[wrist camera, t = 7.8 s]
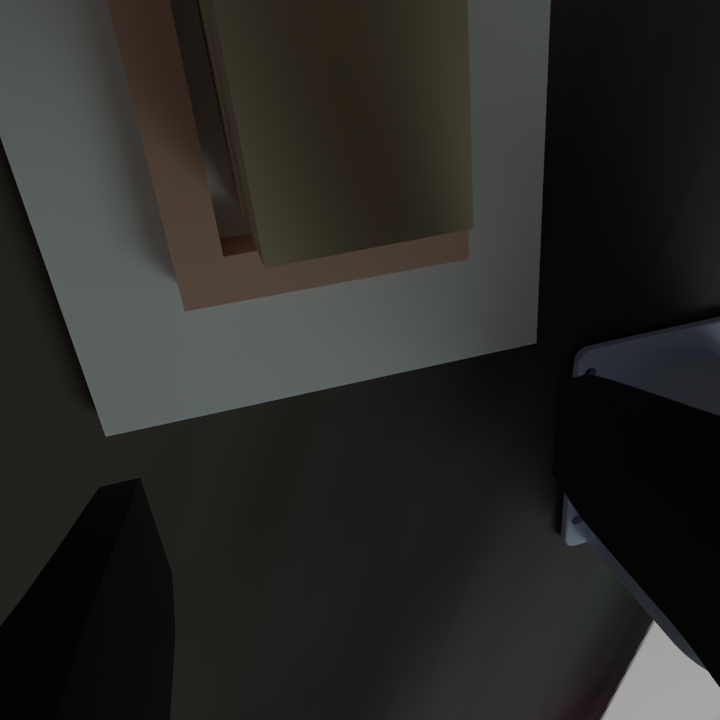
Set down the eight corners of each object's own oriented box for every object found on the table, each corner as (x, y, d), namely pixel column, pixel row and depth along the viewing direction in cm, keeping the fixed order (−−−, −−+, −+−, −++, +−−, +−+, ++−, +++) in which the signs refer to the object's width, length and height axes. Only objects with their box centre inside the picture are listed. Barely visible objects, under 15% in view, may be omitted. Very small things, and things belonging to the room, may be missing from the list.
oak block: (357, -89, 14) (463, -182, 9) (382, 177, 17) (473, 228, 11) (180, -74, 13) (180, -165, 8) (237, 202, 16) (264, 268, 11)
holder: (521, 331, 21) (565, 366, 19) (109, 419, 19) (98, 472, 16) (543, -424, 13) (627, -538, 11) (-192, -456, 10) (-305, -616, 8)
